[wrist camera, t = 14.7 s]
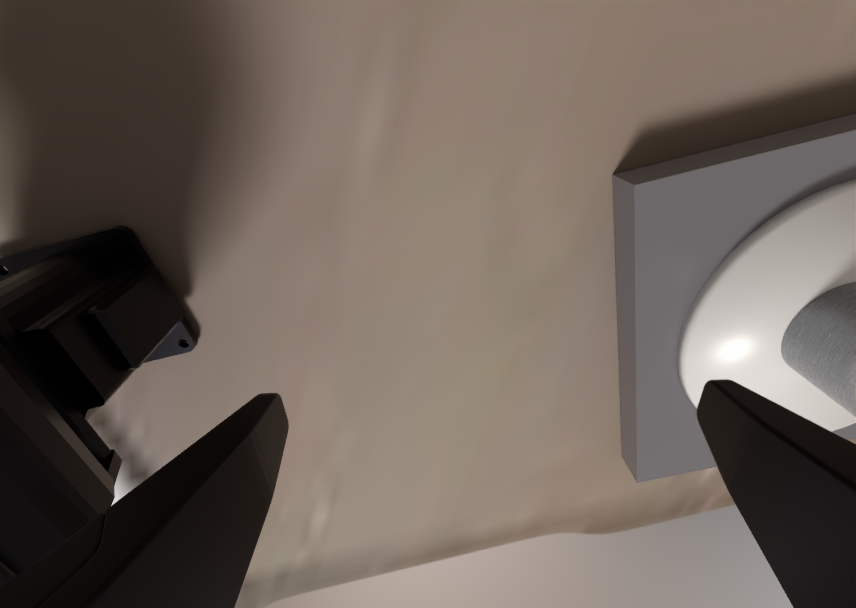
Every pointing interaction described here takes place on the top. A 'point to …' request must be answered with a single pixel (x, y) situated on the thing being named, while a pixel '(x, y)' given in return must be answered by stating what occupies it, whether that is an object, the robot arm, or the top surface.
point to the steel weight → (826, 344)
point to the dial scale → (726, 282)
